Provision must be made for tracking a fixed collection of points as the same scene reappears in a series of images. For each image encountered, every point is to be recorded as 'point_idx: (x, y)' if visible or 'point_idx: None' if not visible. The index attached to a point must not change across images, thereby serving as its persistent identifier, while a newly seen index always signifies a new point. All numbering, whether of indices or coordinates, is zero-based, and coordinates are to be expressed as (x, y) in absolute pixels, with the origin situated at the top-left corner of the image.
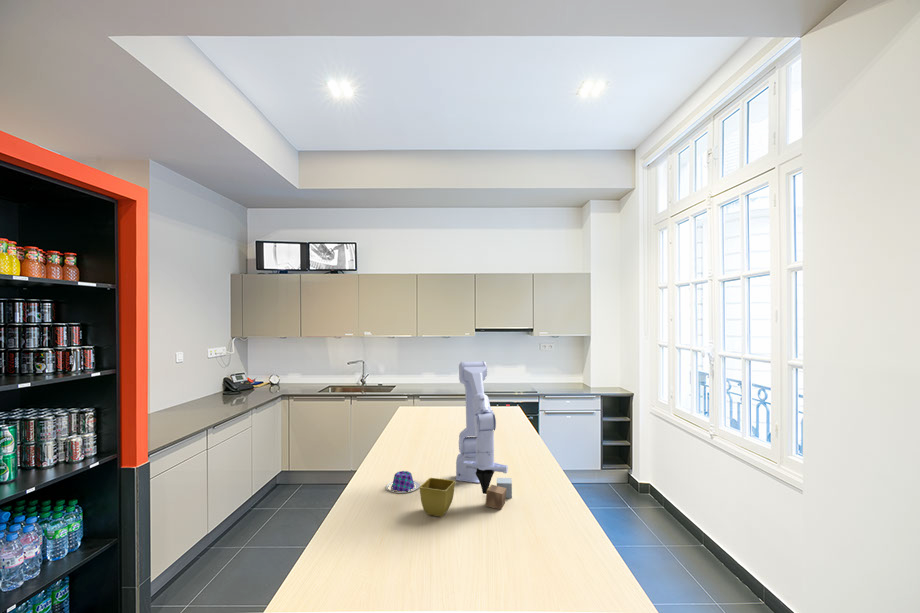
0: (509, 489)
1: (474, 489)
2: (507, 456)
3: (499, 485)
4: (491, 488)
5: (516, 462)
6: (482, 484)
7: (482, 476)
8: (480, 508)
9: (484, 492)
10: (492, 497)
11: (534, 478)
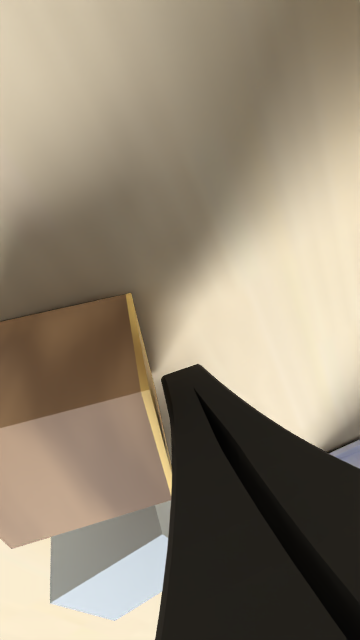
0: (66, 536)
1: (285, 425)
2: None
3: (138, 526)
4: (128, 451)
5: None
6: (243, 428)
7: (331, 567)
8: (153, 249)
9: (185, 375)
10: (67, 360)
11: (94, 625)
